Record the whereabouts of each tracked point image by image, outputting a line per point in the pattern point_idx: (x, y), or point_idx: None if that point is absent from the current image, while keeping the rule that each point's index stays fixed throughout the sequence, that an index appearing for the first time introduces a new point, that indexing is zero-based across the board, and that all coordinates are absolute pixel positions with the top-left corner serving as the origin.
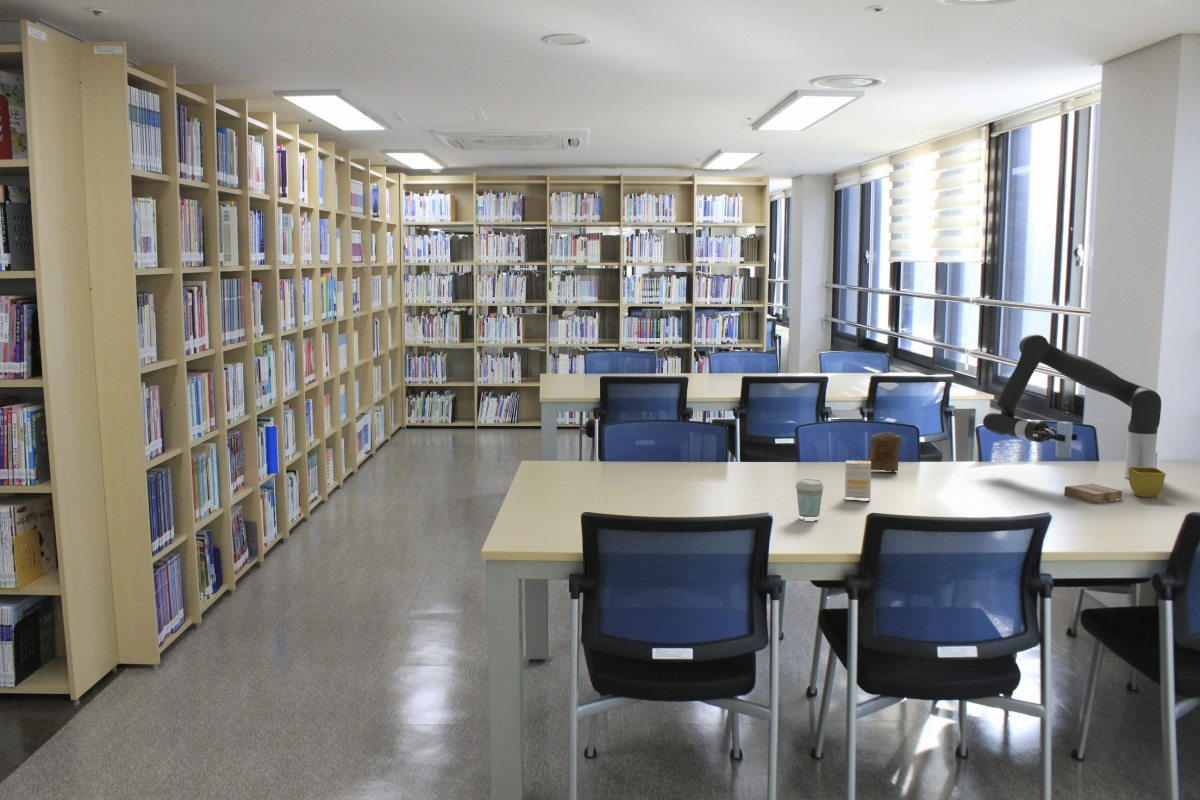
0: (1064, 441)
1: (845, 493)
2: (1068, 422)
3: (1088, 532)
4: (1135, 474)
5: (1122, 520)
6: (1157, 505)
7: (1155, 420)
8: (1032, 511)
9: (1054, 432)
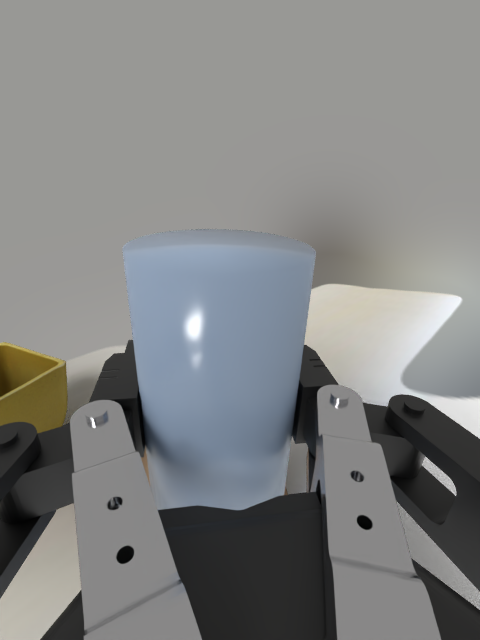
0: None
1: None
2: (168, 244)
3: (388, 318)
4: (51, 381)
5: None
6: None
7: None
8: (469, 403)
9: (230, 518)
